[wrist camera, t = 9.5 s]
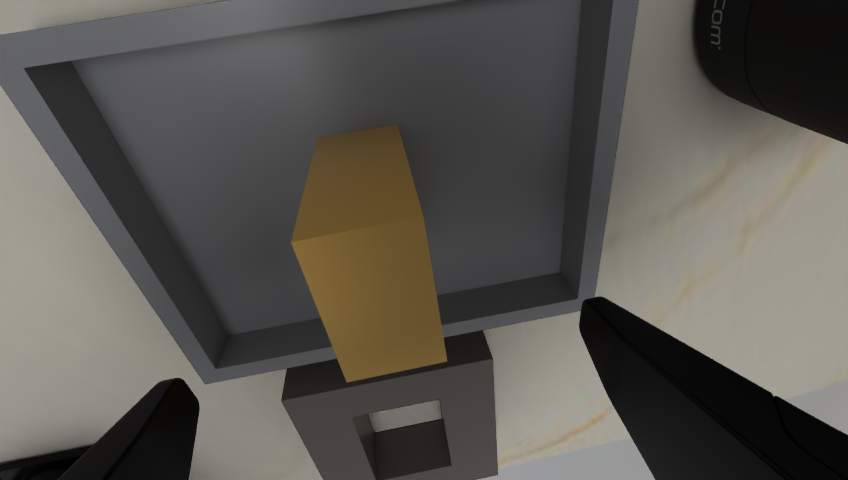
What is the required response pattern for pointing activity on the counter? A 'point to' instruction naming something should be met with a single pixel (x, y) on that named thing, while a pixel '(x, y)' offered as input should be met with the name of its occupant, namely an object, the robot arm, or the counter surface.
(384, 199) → the block
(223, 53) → the parts tray
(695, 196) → the counter surface
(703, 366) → the robot arm
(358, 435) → the gray square frame
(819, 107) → the pen holder
